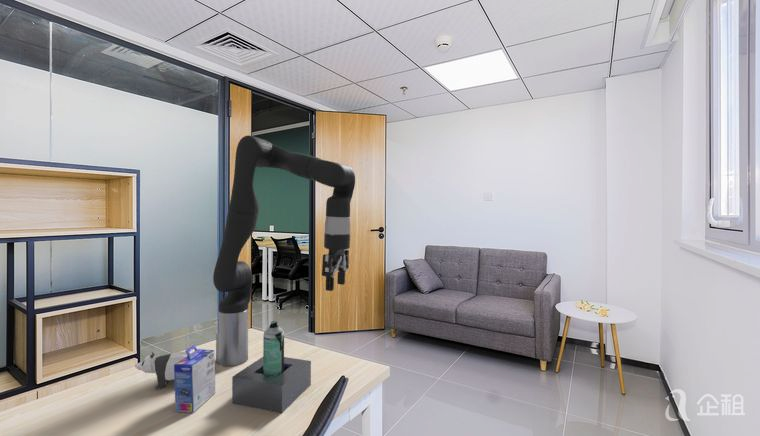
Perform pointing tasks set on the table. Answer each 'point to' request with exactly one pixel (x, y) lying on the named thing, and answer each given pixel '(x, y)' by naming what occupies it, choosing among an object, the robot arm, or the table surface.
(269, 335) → the spray can
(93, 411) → the table surface
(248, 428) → the table surface
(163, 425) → the table surface
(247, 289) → the robot arm
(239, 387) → the square collar
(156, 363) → the giant panda
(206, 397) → the ink cartridge box
